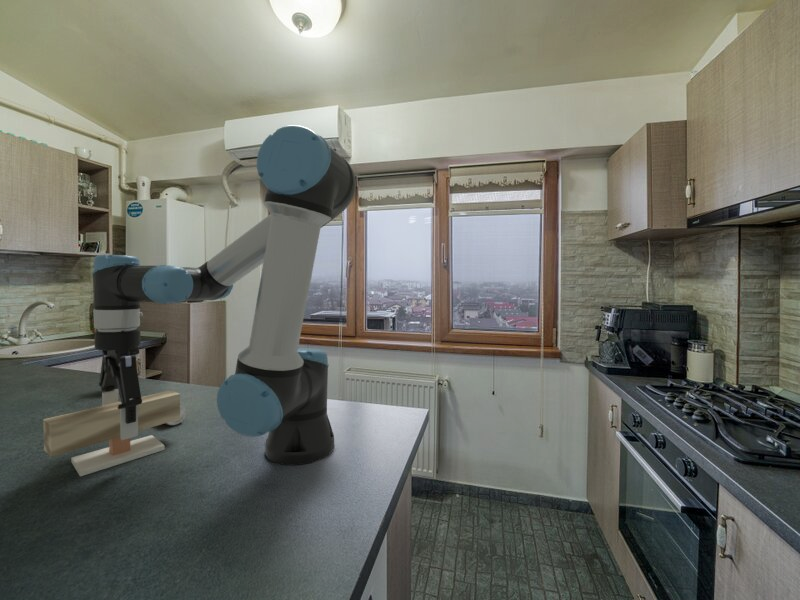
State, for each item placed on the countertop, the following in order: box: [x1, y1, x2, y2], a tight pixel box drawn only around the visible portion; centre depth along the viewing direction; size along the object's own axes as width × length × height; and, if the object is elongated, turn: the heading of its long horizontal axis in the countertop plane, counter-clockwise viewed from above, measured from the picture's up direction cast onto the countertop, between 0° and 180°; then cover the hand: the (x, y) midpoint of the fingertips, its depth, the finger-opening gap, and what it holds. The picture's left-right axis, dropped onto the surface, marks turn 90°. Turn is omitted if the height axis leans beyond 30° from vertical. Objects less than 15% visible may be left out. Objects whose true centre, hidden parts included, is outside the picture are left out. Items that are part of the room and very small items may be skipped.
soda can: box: [164, 404, 187, 426], centre depth 93 cm, size 5×5×12 cm
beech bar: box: [42, 390, 181, 458], centre depth 74 cm, size 4×22×6 cm, turn 148°
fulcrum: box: [71, 434, 166, 477], centre depth 74 cm, size 8×14×5 cm, turn 142°
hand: (119, 428), depth 74 cm, fingers open, 13 cm apart
